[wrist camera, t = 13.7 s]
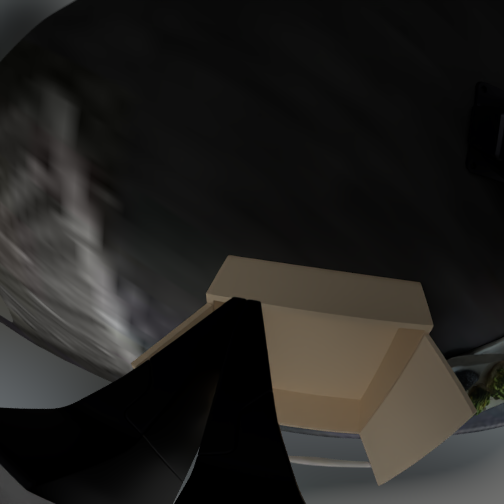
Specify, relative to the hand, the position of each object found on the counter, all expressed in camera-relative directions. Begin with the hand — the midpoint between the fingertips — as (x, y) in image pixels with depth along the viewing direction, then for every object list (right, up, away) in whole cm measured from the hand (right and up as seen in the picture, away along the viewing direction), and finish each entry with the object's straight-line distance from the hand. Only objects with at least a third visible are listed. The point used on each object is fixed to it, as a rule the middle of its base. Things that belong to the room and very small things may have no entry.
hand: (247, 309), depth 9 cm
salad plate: (+28, -13, +17) cm, 35 cm away
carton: (+6, -7, +19) cm, 21 cm away
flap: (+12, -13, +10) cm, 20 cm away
